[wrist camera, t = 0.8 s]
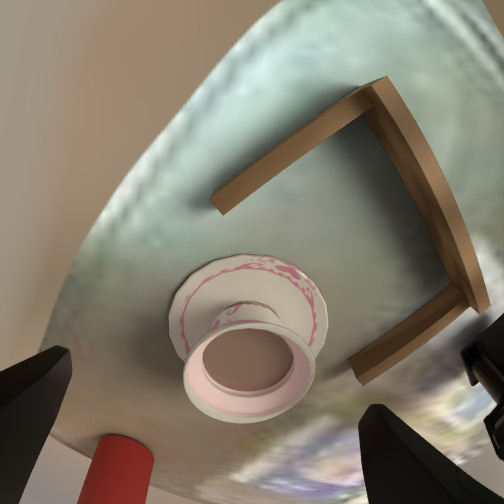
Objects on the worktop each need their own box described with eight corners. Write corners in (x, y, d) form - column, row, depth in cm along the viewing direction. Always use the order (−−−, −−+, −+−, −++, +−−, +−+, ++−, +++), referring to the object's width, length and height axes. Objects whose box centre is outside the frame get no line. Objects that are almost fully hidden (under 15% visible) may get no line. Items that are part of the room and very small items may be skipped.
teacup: (219, 219, 21) (210, 250, 15) (357, 302, 23) (387, 349, 18) (145, 345, 24) (124, 397, 18) (269, 402, 27) (275, 455, 21)
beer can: (152, 438, 28) (131, 534, 17) (157, 468, 30) (142, 551, 19) (95, 426, 28) (61, 513, 16) (106, 457, 30) (82, 535, 19)
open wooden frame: (464, 284, 23) (490, 305, 19) (354, 367, 25) (368, 398, 22) (361, 85, 18) (387, 75, 14) (213, 192, 20) (206, 204, 16)
